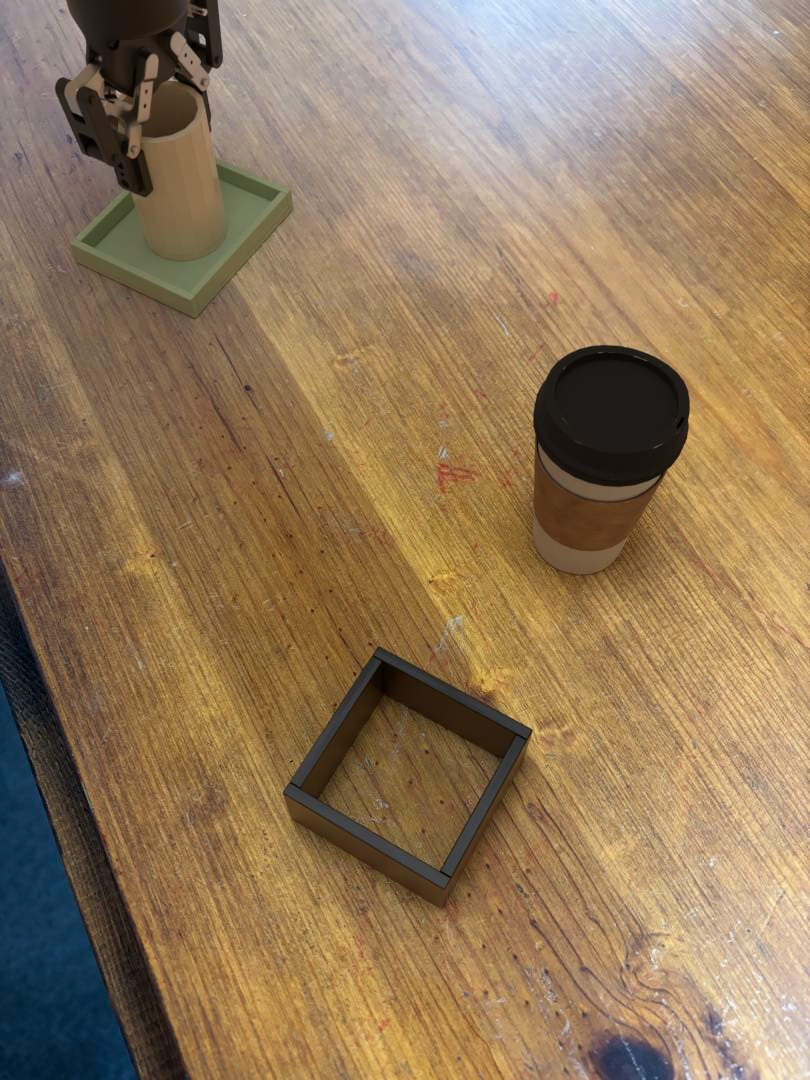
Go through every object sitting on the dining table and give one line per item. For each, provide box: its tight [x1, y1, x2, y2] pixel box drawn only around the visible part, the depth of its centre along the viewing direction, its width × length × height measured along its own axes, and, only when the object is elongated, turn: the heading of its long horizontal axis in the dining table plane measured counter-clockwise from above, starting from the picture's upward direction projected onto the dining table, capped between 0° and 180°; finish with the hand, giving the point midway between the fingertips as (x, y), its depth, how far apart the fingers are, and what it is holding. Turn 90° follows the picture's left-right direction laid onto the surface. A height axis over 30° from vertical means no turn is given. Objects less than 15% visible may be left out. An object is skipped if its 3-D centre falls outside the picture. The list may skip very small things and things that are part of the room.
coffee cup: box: [531, 344, 691, 576], centre depth 63 cm, size 8×8×15 cm
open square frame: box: [282, 645, 534, 910], centre depth 59 cm, size 10×10×5 cm
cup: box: [117, 79, 227, 261], centre depth 77 cm, size 6×6×11 cm
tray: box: [69, 156, 294, 319], centre depth 82 cm, size 13×11×2 cm
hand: (168, 160), depth 76 cm, fingers closed on cup, 6 cm apart
